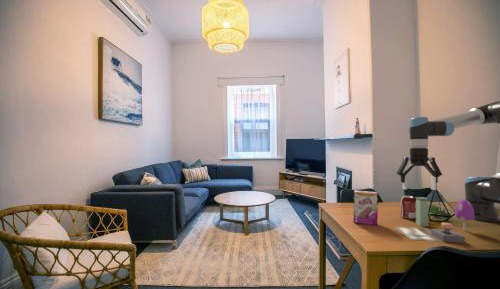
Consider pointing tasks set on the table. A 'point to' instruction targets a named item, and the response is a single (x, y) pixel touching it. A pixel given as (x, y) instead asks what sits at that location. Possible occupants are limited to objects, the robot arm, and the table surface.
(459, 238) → the button housing
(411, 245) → the table surface
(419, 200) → the pale green block
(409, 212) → the soda can
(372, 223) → the candy bar box
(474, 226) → the table surface
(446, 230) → the button cap
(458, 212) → the toy
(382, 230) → the table surface
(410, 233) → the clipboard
